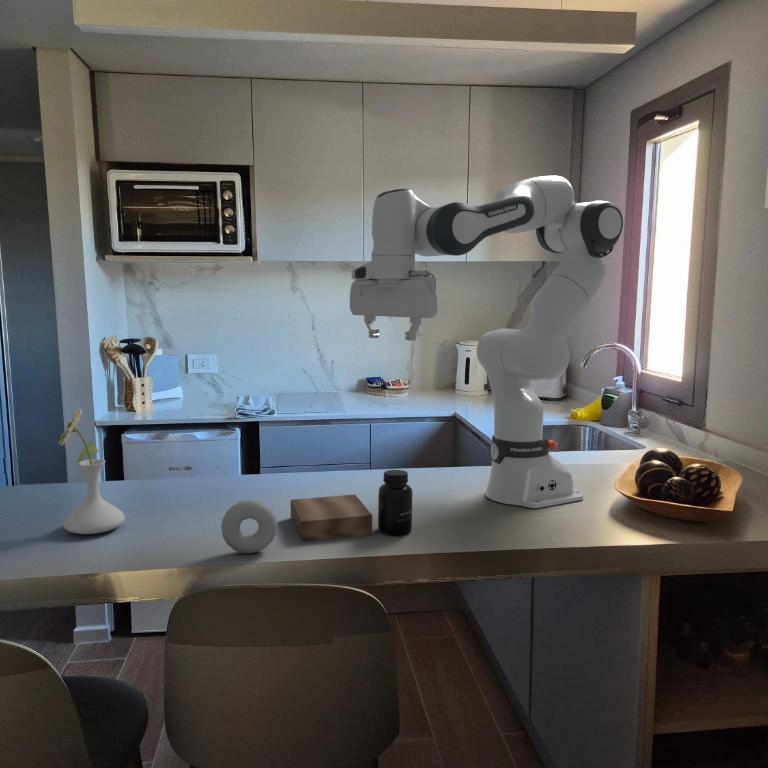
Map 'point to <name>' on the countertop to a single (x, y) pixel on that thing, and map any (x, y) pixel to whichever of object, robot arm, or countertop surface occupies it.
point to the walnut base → (330, 517)
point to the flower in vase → (90, 492)
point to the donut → (249, 511)
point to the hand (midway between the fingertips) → (391, 339)
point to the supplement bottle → (395, 504)
